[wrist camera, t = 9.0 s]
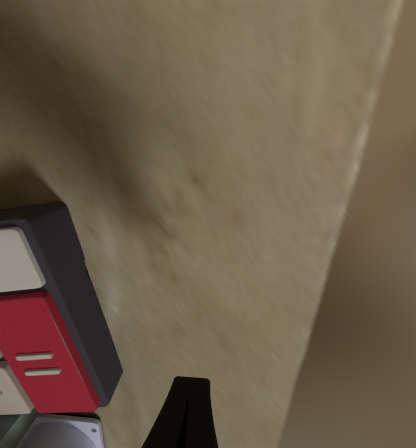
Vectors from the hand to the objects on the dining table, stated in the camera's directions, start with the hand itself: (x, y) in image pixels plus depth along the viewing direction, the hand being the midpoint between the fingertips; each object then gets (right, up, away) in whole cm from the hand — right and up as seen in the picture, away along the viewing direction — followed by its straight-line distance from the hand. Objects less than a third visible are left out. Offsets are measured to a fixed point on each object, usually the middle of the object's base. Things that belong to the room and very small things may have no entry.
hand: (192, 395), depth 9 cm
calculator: (-13, +1, +9) cm, 16 cm away
